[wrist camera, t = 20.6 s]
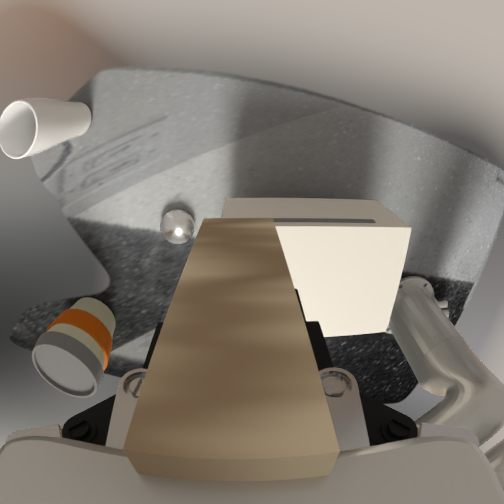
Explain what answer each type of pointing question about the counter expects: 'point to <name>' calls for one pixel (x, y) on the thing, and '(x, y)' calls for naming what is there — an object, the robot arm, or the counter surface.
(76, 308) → the reusable coffee cup
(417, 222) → the counter surface
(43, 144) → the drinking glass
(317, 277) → the cabinet
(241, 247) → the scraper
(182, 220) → the ball
